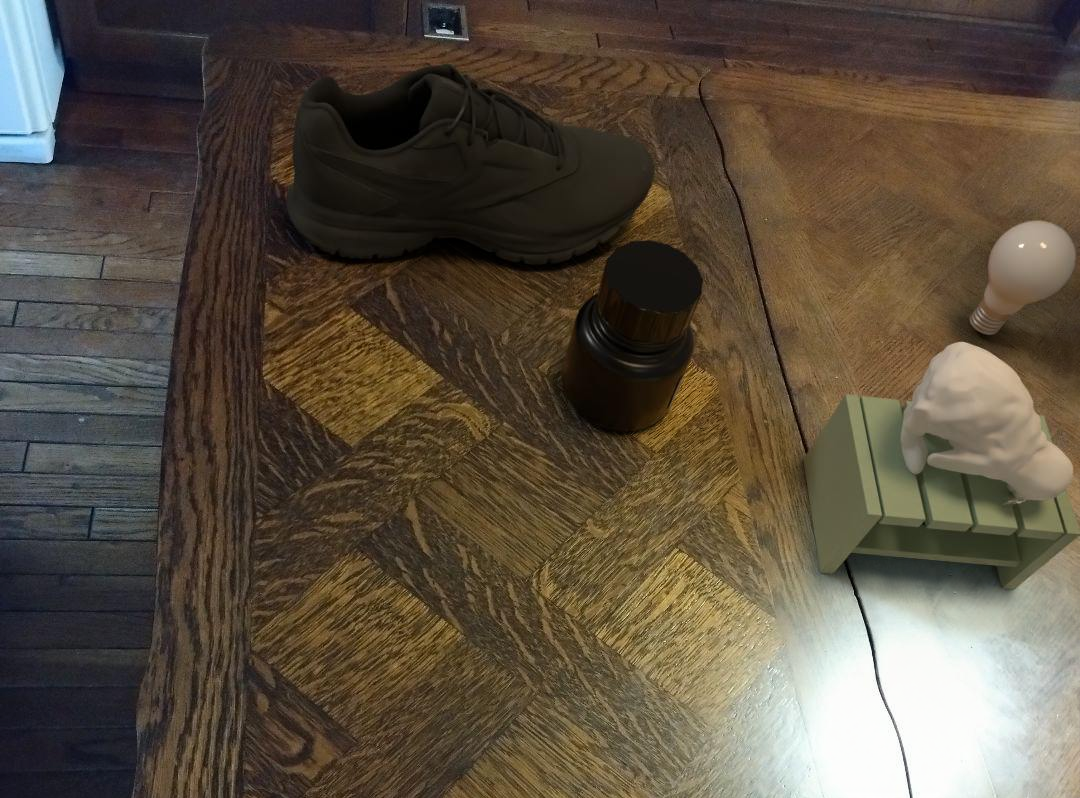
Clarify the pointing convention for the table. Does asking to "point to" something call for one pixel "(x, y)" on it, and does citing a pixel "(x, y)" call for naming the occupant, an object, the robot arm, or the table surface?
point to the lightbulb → (1023, 271)
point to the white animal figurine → (982, 425)
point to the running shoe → (455, 172)
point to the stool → (921, 501)
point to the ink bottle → (633, 337)
